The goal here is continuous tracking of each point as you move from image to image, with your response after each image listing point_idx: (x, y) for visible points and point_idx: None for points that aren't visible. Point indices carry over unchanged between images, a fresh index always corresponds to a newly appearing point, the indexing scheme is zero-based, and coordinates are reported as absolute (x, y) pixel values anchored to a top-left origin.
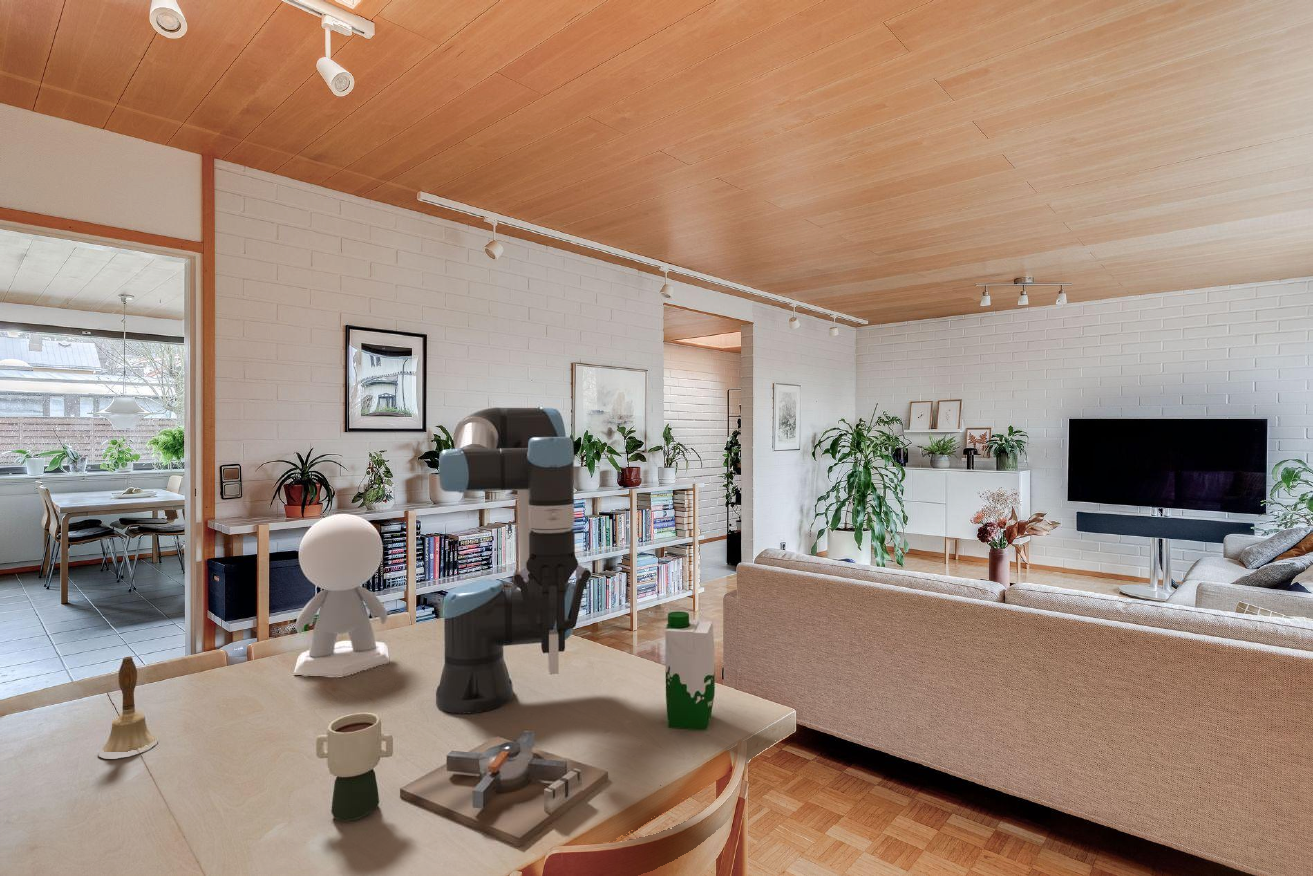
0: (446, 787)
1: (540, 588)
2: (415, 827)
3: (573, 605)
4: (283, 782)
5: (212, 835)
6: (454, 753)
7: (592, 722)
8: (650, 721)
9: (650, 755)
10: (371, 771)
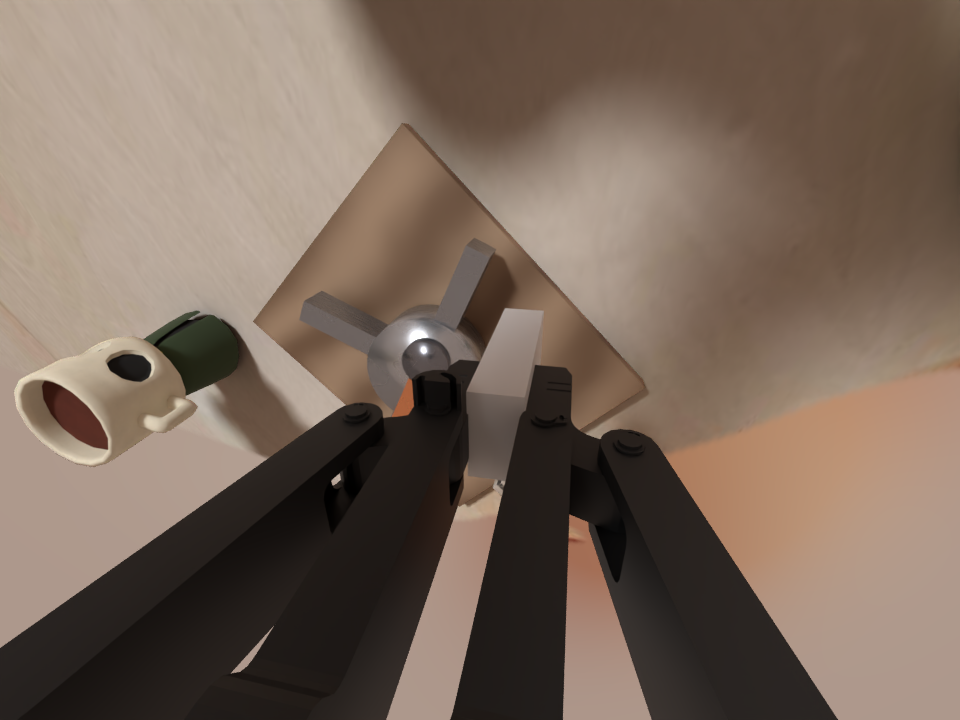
0: (331, 344)
1: (224, 687)
2: (314, 408)
3: (641, 677)
4: (41, 199)
5: (57, 337)
6: (312, 316)
7: (717, 29)
8: (931, 75)
9: (788, 310)
10: (184, 379)
